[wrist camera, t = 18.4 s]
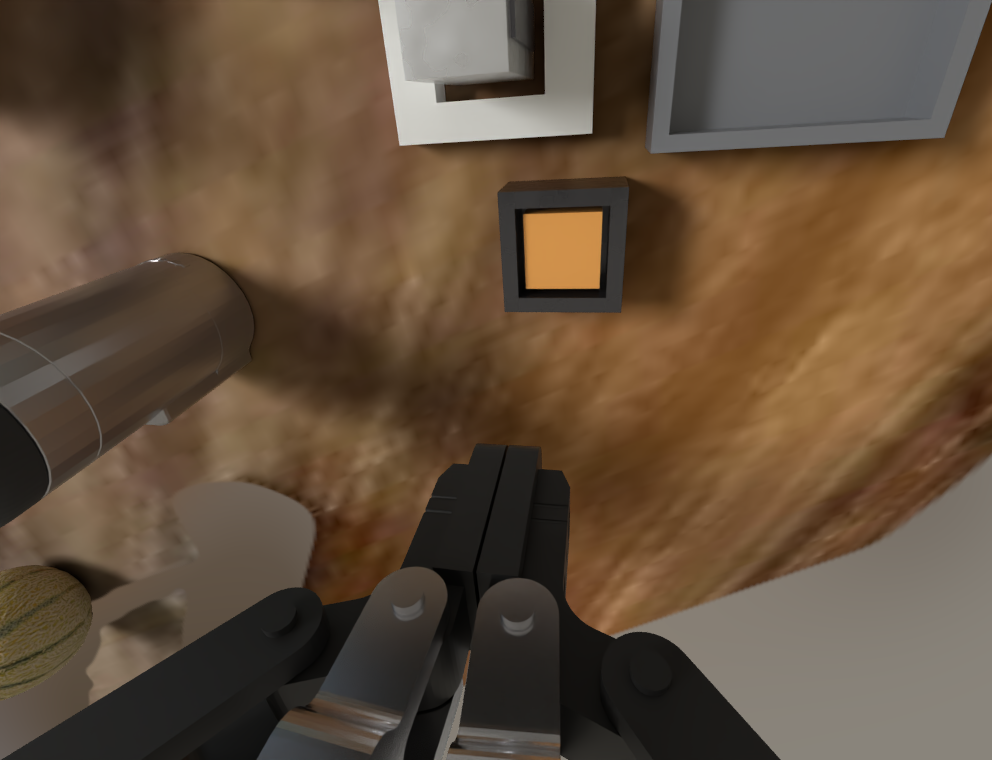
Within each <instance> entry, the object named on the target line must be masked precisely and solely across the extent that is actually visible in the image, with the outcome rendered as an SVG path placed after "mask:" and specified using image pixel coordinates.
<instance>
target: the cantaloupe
mask: <svg viewBox="0 0 992 760" xmlns="http://www.w3.org/2000/svg"><path fill="white" fill-rule="evenodd" d="M92 615H93V613H92V605H91V598H90V595H89V593H88V592H87V590H86V589H85V587H84V586H83V585H82V584H81V583H80V582H79V581H78V580H77V579H76V578H74V577H73V576H72V575H70V574H69V573H67V572H65V571H61V570H58V569H57V568H54V567H47V566H39V565H31V566H21V567H16V568H11V569H8V570H3V571H1V572H0V701H1V700H5V699H7V698H10V697H14V696H16V695H17V694H20V693H22V692H25V691H27V690H29V689H30V688H33V687H35V686H36V685H38V684H40V683H42V682H43V681H45V680H47V679H48V678H49V677H51V676H52V675H53V674H55V673H56V672H58V671H59V670H60V669H61V668H62V667H64V666H65V665H66V664H67V663H68V662H69V661H70V659H71V658H72V657H73V656H74V655H75V654H76V653H77V652H78V650H79V649H80V647H81V645H82V644H83V643H84V641H85V638H86V636H87V633H88V631H89V629H90V626H91V621H92Z"/></svg>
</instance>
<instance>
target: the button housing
mask: <svg viewBox="0 0 992 760" xmlns="http://www.w3.org/2000/svg"><path fill="white" fill-rule="evenodd" d="M628 197H629V185H628V182H627V180H626V177H603V178H581V179H560V180H538V181H516V182H508V183H507V184H506V185H505V186H504V187H503V188H502V189H501V190H500V191H499V192H498V208H499V225H500V241H501V257H502V274H503V290H504V307H505V312H619V313H621V304H622V289H623V274H624V258H625V243H626V227H627V212H628ZM585 206H602V210H603V213H602V238H601V262H600V287H599V289H526V278H525V251H524V224H523V214H524V212H525V211H526V209H528V208H557V207H585Z"/></svg>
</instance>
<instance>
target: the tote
mask: <svg viewBox="0 0 992 760" xmlns="http://www.w3.org/2000/svg"><path fill="white" fill-rule="evenodd" d="M991 2H992V0H657V1H656V14H655V27H654V40H653V52H652V65H651V78H650V91H649V104H648V117H647V130H646V143H645V148H646V149H647V150H648V151H649V152H650V153H669V152H687V151H706V150H724V149H743V148H762V147H780V146H799V145H817V144H836V143H855V142H873V141H892V140H910V139H929V138H944V137H945V134H946V131H947V128H948V125H949V122H950V120H951V117H952V114H953V111H954V108H955V105H956V102H957V99H958V97H959V94H960V91H961V88H962V85H963V82H964V79H965V77H966V74H967V71H968V68H969V65H970V62H971V59H972V57H973V54H974V51H975V48H976V45H977V42H978V39H979V36H980V34H981V31H982V28H983V25H984V22H985V19H986V16H987V14H988V11H989V8H990V5H991Z"/></svg>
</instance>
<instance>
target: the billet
mask: <svg viewBox="0 0 992 760" xmlns="http://www.w3.org/2000/svg"><path fill="white" fill-rule="evenodd" d="M395 8H396V15H397V23H398V30H399V38H400V45H401V52H402V60H403V67H404V75H405V81H414V82H425V83H436V84H446V85H457V86H459V85H471V84H483V83H495V82H507V81H518V80H530V79H534V59H533V52H535V28H534V4H533V2H532V0H395Z"/></svg>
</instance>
